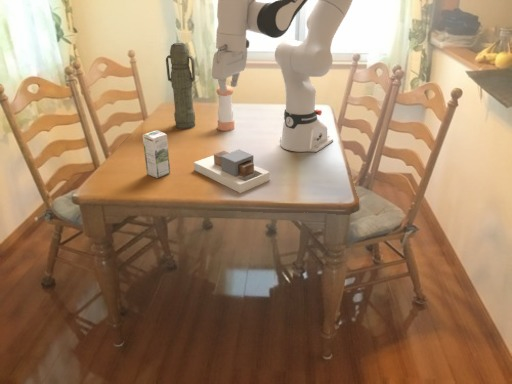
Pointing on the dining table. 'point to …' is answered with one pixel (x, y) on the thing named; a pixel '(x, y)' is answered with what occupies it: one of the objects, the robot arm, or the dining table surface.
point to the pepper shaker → (225, 110)
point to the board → (232, 171)
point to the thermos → (182, 85)
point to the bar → (243, 168)
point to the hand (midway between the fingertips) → (228, 89)
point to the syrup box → (156, 153)
